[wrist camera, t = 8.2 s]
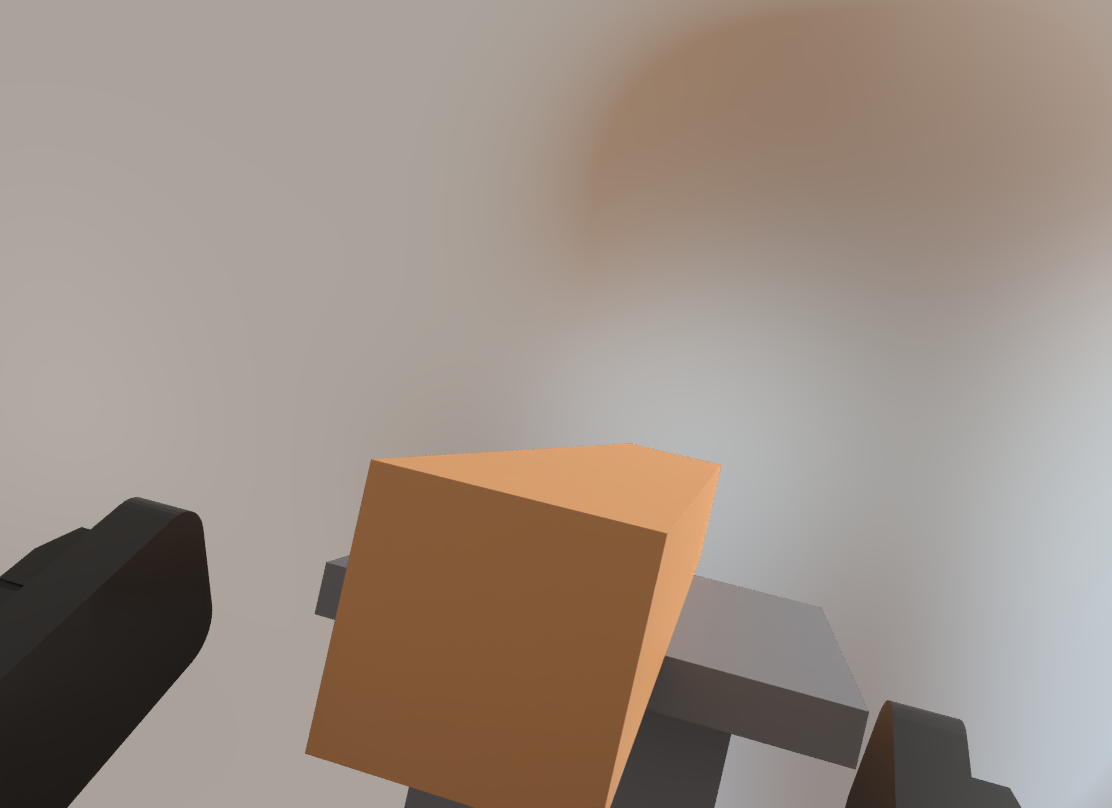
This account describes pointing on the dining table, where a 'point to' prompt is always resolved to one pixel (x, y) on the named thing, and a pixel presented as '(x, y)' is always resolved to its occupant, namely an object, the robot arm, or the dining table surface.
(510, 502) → the block
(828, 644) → the tall stand
